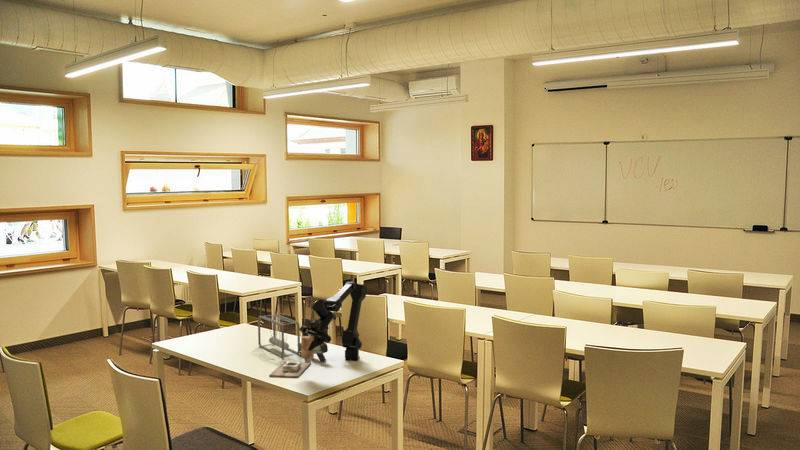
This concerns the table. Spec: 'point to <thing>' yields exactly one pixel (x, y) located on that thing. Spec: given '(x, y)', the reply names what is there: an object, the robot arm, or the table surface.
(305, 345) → the tapered tan cup
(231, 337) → the table surface
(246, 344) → the table surface
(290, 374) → the brown board with rail
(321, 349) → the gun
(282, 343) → the newton's cradle
